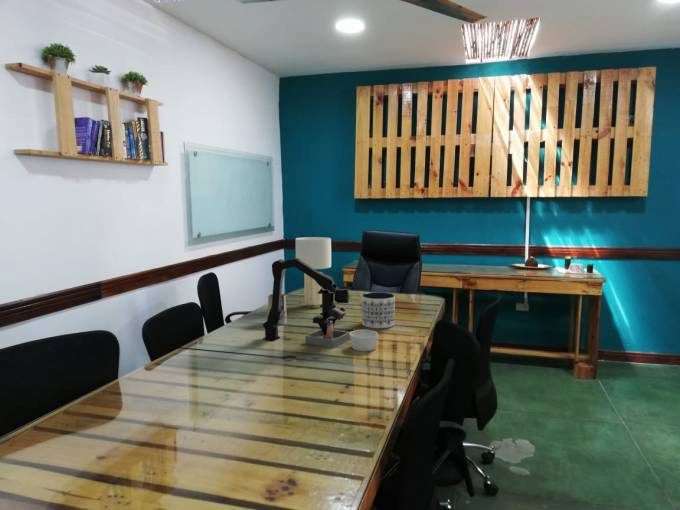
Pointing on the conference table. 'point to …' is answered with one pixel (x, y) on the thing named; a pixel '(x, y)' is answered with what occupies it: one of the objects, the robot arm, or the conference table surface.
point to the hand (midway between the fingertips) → (328, 334)
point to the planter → (378, 310)
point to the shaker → (329, 330)
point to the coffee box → (283, 306)
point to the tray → (318, 339)
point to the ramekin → (363, 340)
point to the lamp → (313, 265)
